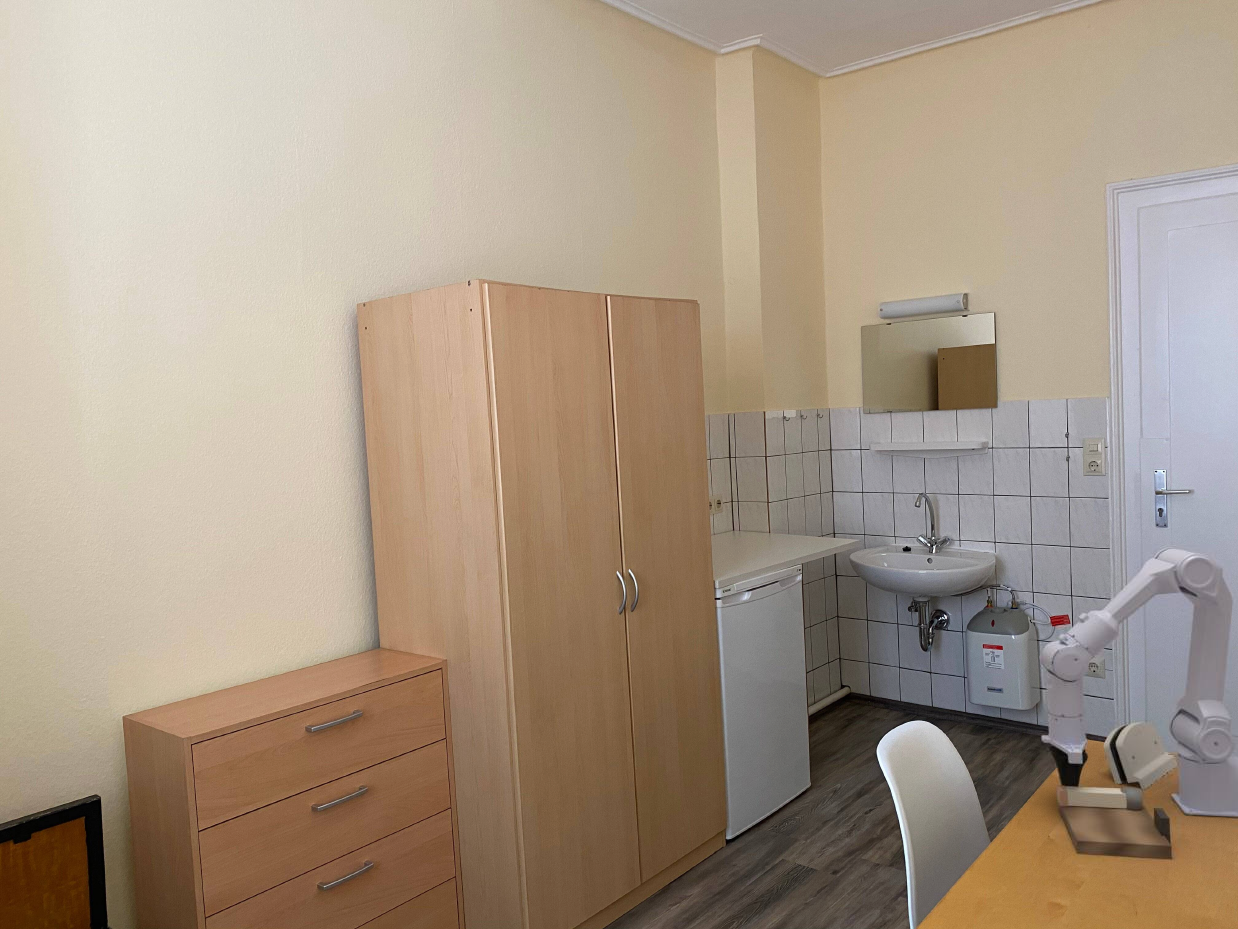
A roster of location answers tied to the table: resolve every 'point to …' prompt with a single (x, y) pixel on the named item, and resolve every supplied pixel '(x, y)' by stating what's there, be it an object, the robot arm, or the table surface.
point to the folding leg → (1100, 797)
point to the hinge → (1137, 754)
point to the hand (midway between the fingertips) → (1069, 790)
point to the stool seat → (1118, 831)
